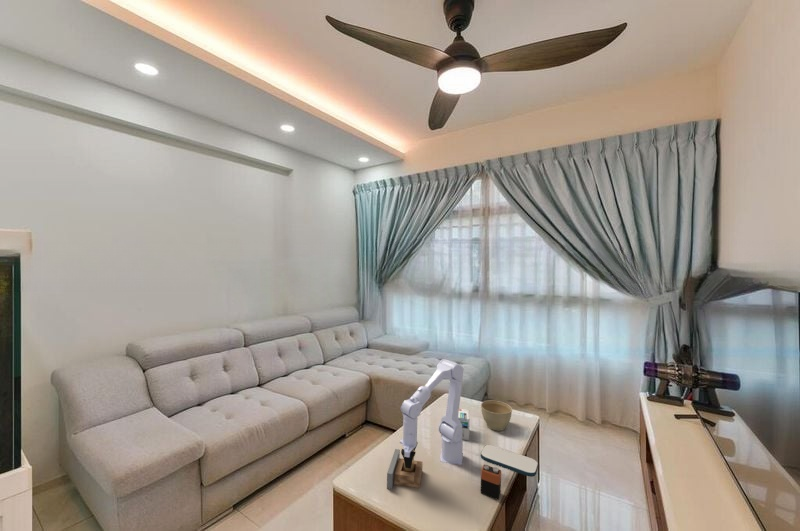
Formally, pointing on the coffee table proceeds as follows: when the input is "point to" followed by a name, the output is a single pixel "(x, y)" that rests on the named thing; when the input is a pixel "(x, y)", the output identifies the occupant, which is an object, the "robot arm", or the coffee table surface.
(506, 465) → the white teal rounded slab
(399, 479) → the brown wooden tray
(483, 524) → the coffee table surface
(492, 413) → the planter bowl
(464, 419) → the light bulb box
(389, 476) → the slate stop wall
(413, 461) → the oak dowel
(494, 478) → the battery
